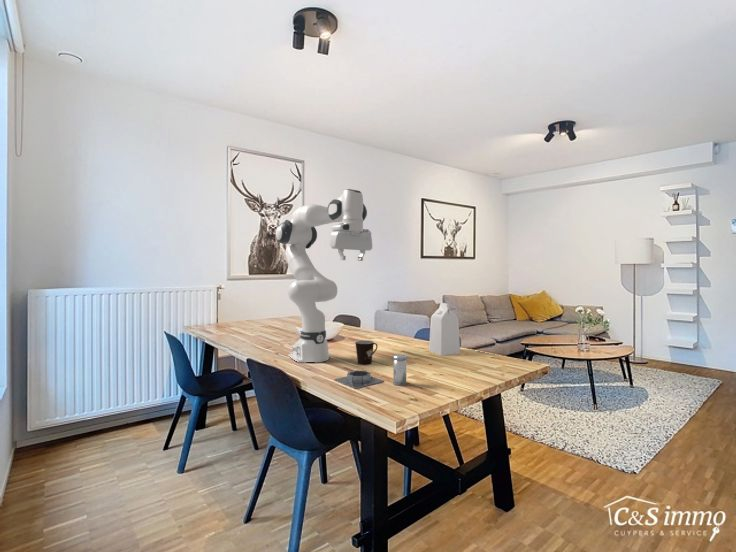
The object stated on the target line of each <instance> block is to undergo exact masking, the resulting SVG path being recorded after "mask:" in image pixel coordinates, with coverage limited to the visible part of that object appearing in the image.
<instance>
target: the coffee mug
mask: <svg viewBox="0 0 736 552" xmlns="http://www.w3.org/2000/svg"><path fill="white" fill-rule="evenodd" d="M354 343H355V350H356V351H355V352H356V358H357V359H356V360H357V365H359V366H360V365H361V366H369V365H372V362H373V355H374V354H375V353H376V351H377V350H378V348H379V346H378V344H377V342H375V341H374V340H373V341H372V340H366V339H365V340H364V339H363V340H357V341H355V342H354ZM374 345H375V346H376V347H375V349H374Z"/></svg>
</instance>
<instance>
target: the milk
mask: <svg viewBox="0 0 736 552" xmlns="http://www.w3.org/2000/svg"><path fill="white" fill-rule="evenodd" d="M459 321H460V320H459V317H458V315H456V313H454V312H453V311H452V309H451V308H450V304H449V303H445V302H440V303H439V308H437V309H436V310H435V311H434V313H433V314H432V315H431V317H430V327H429V328H430V329H429V344H428V346H429V347H428V351H429V352H431V353H433V352H434V353H433V354H436V353H437V354H436V355H438V354H439V356H441V355H442V356H450V355H452V356H453V355H461V343H460V322H459Z"/></svg>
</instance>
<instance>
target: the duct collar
mask: <svg viewBox="0 0 736 552" xmlns="http://www.w3.org/2000/svg"><path fill="white" fill-rule="evenodd" d="M371 373H372V372H370V371H368V370H359V369H358V370H352V371H347V374H346V376H343V377H342V376H341V377H338V378H334V379H333V380H335V382H337V381H338V382H337V383H339V382H340V384H342V383H343V384H342V385H345V386H347V385H348V386H347V387H349V388H352V387H353V389H355V390H356V389H361V388H365V387H370V386H372V385H376V384H377V385H378V384H380V383H384V382H385V381H384V380H383V379H381V378H378V377H374V376H371Z"/></svg>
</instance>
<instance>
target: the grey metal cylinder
mask: <svg viewBox="0 0 736 552" xmlns="http://www.w3.org/2000/svg"><path fill="white" fill-rule="evenodd" d="M392 360H393V361H392V362H393V370H392V371H393V373H392V374H393V377H392V378H393V380H392V381H393V382H392V383H393V385H394V386H396V387H397V386H398V387H404V386H407V360H408V356H407V355H406V354H401V353H399V354H398V353H397V354H394V355H392Z"/></svg>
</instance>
